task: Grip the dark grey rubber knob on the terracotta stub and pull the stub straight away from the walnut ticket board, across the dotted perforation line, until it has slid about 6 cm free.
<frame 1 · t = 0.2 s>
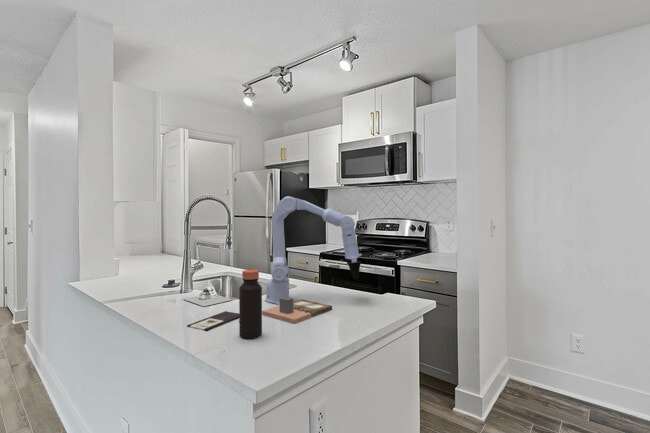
hand: (355, 276, 151), 10 cm above the counter, tool pointing down, fingers open, 7 cm apart
bottle: (250, 336, 112), on the counter
ticket board: (306, 309, 140), on the counter
chocolate bar: (217, 322, 125), on the counter
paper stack: (192, 301, 152), on the counter
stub: (286, 307, 131), point 3 cm above the counter, slide at 0.0 cm
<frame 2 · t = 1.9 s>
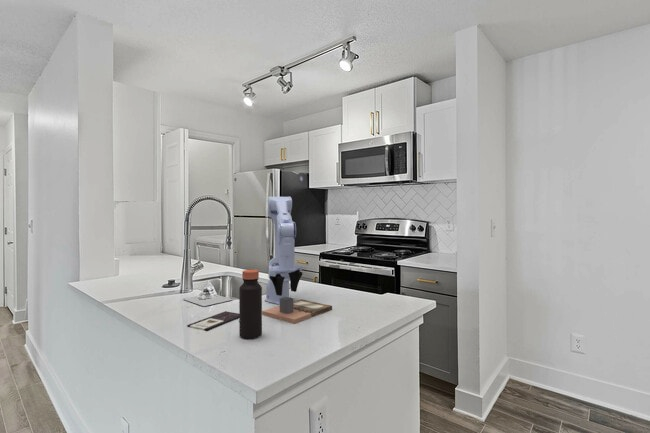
hand: (286, 293, 131), 8 cm above the counter, tool pointing down, fingers open, 7 cm apart
nothing on the counter moved.
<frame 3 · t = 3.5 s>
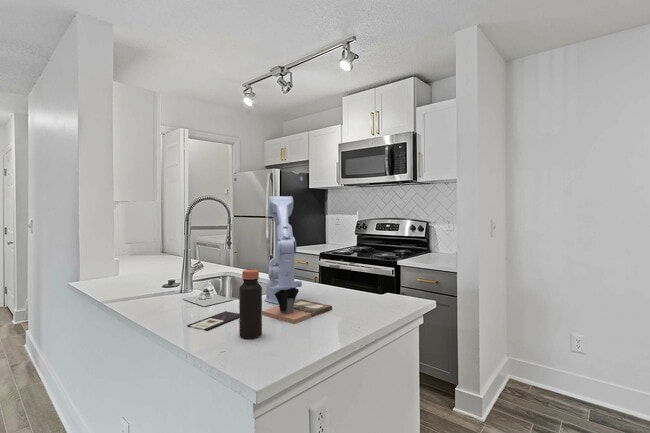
hand: (286, 309, 131), 2 cm above the counter, tool pointing down, fingers closed on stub, 3 cm apart
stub: (286, 307, 131), point 3 cm above the counter, slide at 0.0 cm, touching gripper
everything else where it was.
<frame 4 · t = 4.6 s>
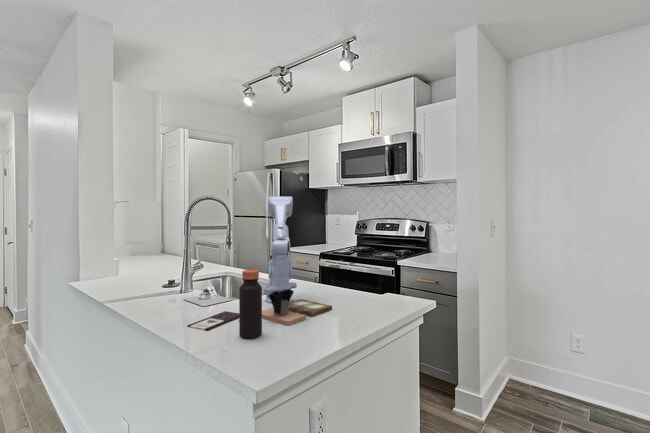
hand: (280, 311, 129), 2 cm above the counter, tool pointing down, fingers closed on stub, 3 cm apart
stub: (280, 309, 129), point 3 cm above the counter, slide at 2.9 cm, touching gripper
everything else where it was.
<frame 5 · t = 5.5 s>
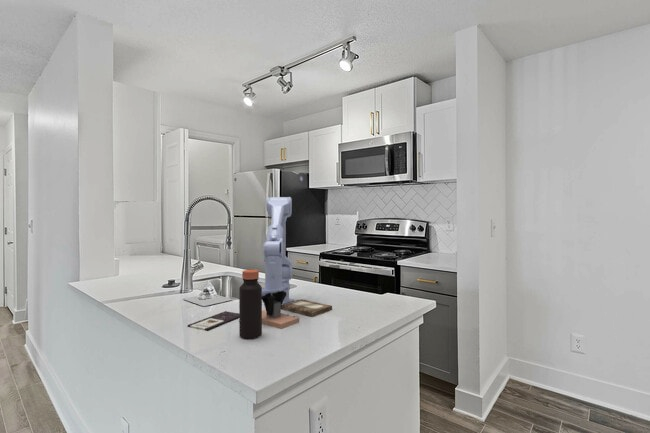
hand: (273, 313, 126), 2 cm above the counter, tool pointing down, fingers closed on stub, 3 cm apart
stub: (273, 311, 126), point 3 cm above the counter, slide at 6.5 cm, touching gripper
everything else where it was.
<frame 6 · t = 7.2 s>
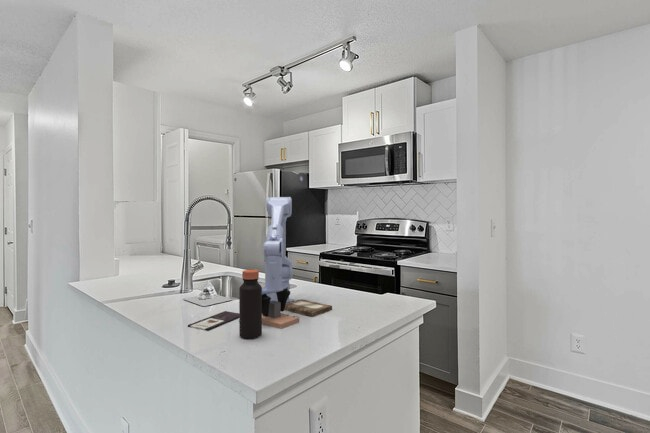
hand: (273, 313, 126), 2 cm above the counter, tool pointing down, fingers open, 7 cm apart
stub: (273, 311, 126), point 3 cm above the counter, slide at 6.5 cm
everything else where it was.
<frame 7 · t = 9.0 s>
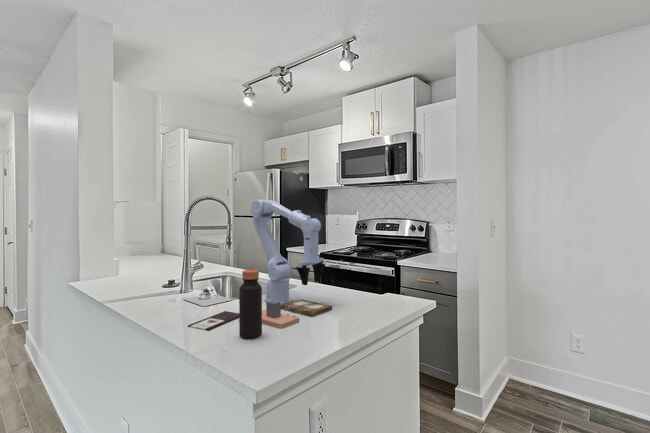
hand: (311, 283, 143), 9 cm above the counter, tool pointing down, fingers open, 7 cm apart
nothing on the counter moved.
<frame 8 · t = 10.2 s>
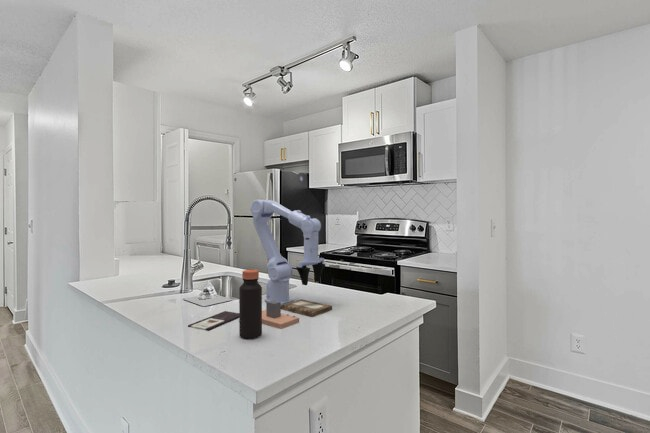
hand: (311, 283, 143), 9 cm above the counter, tool pointing down, fingers open, 7 cm apart
nothing on the counter moved.
at the end: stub slide at 6.5 cm; bottle moved 0.2 cm from its start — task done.
